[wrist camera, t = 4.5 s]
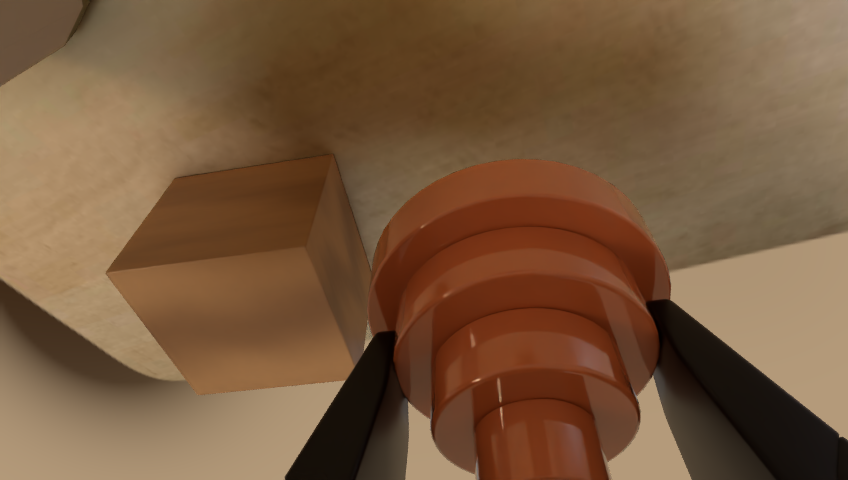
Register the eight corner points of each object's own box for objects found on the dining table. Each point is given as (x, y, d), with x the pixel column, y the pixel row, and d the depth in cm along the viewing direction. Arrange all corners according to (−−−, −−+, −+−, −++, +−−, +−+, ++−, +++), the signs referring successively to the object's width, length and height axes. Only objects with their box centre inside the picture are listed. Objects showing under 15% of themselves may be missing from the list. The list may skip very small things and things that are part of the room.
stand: (373, 277, 25) (360, 379, 21) (239, 294, 26) (197, 395, 21) (333, 153, 21) (305, 246, 16) (174, 178, 22) (104, 273, 17)
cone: (640, 350, 13) (731, 579, 9) (404, 375, 14) (391, 595, 10) (664, 132, 9) (836, 359, 5) (338, 183, 10) (274, 413, 6)
